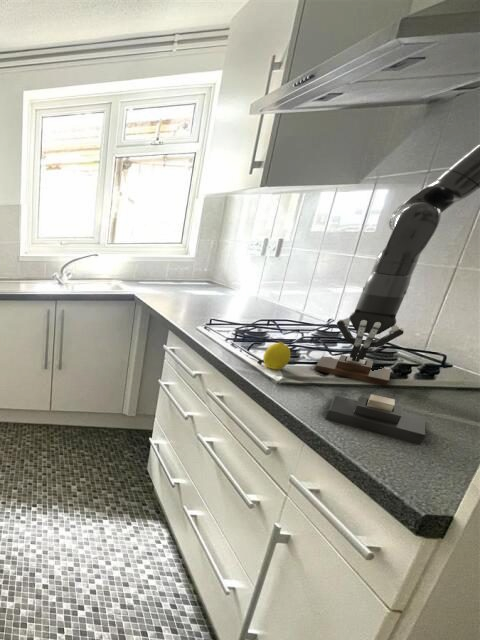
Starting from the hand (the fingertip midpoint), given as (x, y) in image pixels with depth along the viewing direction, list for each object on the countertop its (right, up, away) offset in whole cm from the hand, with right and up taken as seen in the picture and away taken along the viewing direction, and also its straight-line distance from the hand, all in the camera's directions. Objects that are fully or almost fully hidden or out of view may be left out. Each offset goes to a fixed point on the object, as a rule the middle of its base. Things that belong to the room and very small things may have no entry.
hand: (355, 360), depth 107 cm
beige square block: (0, -2, +1) cm, 2 cm away
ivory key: (-17, -11, -23) cm, 31 cm away
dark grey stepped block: (-17, -14, -22) cm, 31 cm away
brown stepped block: (0, -4, +2) cm, 4 cm away
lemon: (-18, -3, +4) cm, 19 cm away
